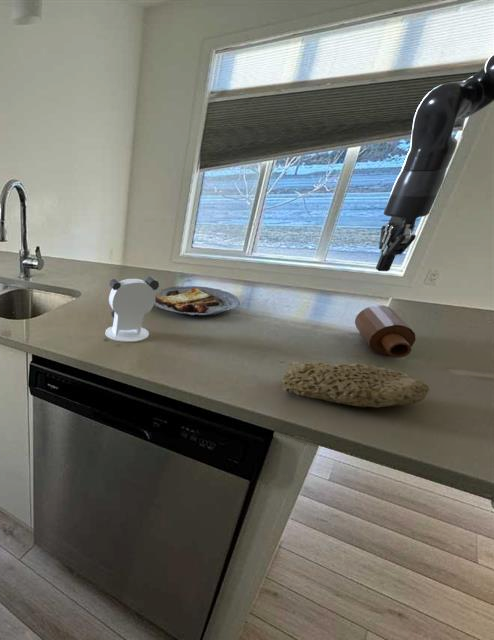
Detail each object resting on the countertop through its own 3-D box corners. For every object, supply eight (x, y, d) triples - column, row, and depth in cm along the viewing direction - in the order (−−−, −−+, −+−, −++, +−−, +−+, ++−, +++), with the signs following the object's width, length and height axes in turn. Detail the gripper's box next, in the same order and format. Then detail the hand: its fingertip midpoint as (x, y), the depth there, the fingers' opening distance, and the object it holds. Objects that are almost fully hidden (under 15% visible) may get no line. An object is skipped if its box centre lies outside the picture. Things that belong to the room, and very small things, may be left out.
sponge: (278, 404, 79) (428, 422, 65) (281, 366, 77) (436, 375, 63) (291, 388, 88) (426, 400, 74) (294, 353, 86) (433, 358, 72)
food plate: (179, 325, 112) (182, 313, 111) (133, 300, 132) (134, 290, 130) (255, 311, 117) (259, 299, 115) (200, 289, 136) (202, 279, 135)
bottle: (400, 306, 94) (431, 336, 81) (387, 334, 98) (415, 367, 84) (361, 304, 97) (384, 332, 84) (350, 331, 101) (370, 363, 87)
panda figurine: (143, 324, 115) (150, 272, 108) (157, 340, 105) (165, 284, 98) (101, 327, 116) (104, 275, 108) (111, 343, 106) (116, 288, 98)
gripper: (451, 195, 83) (413, 278, 91) (424, 188, 93) (392, 263, 101) (403, 197, 86) (370, 277, 94) (382, 189, 96) (354, 263, 104)
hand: (381, 270), depth 98 cm, fingers closed
